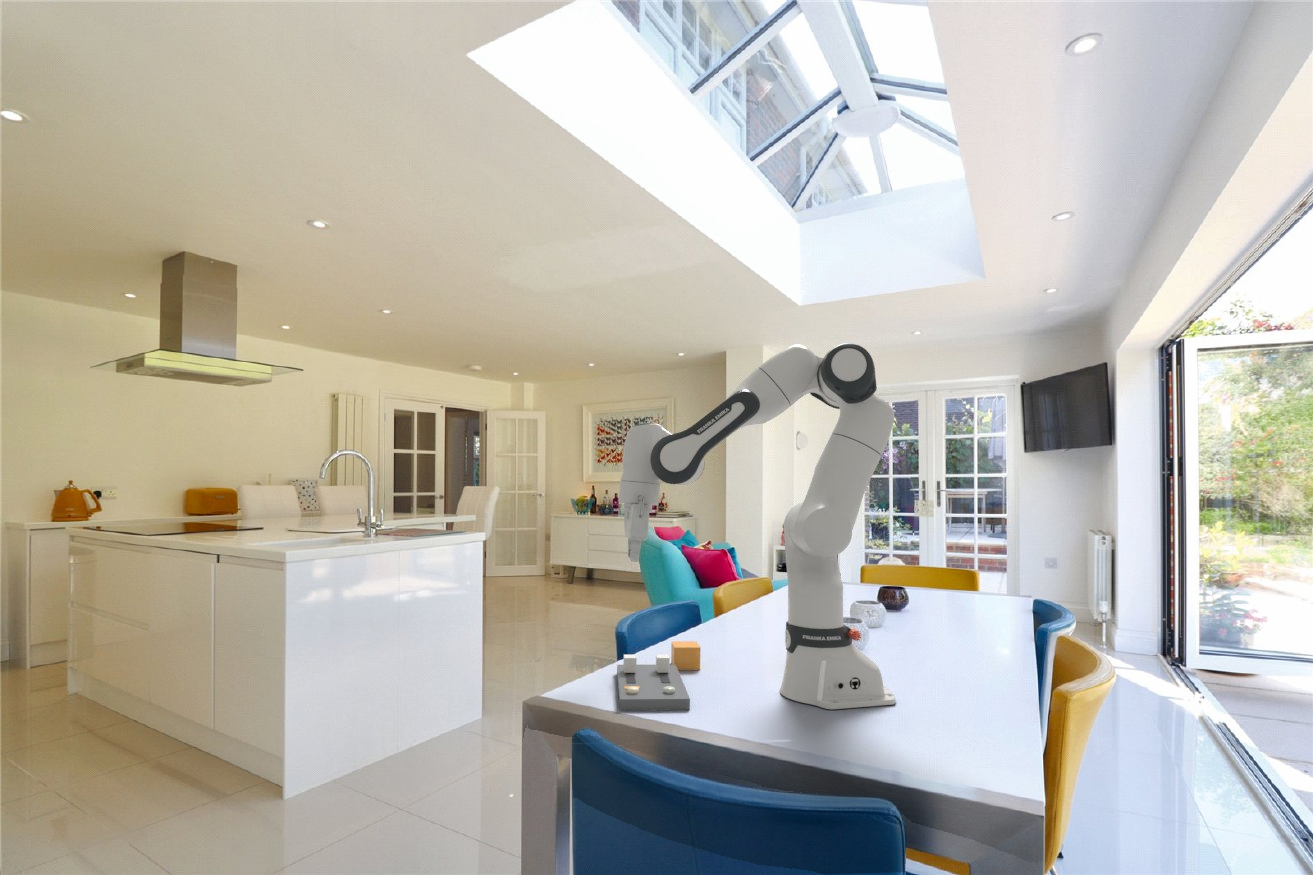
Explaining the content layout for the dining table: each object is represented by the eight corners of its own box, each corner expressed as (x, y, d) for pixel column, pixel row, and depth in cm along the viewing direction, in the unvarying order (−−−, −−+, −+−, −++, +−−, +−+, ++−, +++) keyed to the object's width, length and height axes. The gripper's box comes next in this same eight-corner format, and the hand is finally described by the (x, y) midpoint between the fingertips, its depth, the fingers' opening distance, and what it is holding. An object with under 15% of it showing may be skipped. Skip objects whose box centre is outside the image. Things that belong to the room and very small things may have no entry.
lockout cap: (696, 662, 155) (696, 641, 155) (700, 669, 149) (700, 647, 149) (671, 663, 154) (671, 641, 155) (673, 670, 148) (674, 647, 149)
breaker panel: (675, 673, 145) (675, 660, 146) (689, 709, 122) (690, 694, 122) (617, 673, 144) (617, 661, 145) (619, 710, 120) (620, 694, 121)
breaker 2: (667, 668, 141) (668, 654, 141) (669, 672, 138) (669, 658, 138) (655, 668, 141) (656, 654, 141) (656, 672, 138) (657, 658, 138)
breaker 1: (635, 668, 140) (635, 654, 141) (636, 672, 137) (636, 658, 138) (623, 668, 140) (623, 654, 140) (623, 672, 137) (624, 658, 137)
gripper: (657, 497, 134) (651, 565, 132) (649, 497, 154) (643, 556, 153) (627, 494, 133) (620, 562, 132) (622, 495, 153) (616, 554, 152)
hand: (632, 559), depth 142 cm, fingers open, 8 cm apart
